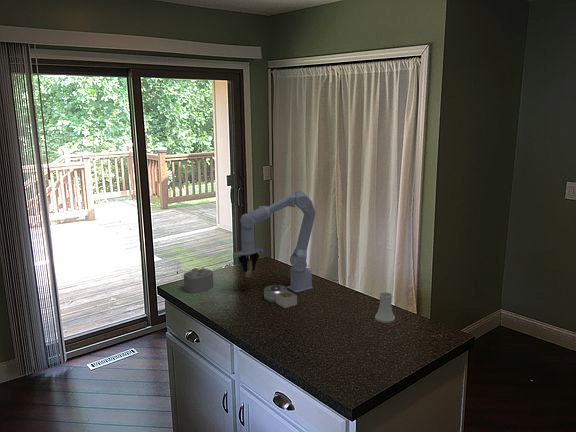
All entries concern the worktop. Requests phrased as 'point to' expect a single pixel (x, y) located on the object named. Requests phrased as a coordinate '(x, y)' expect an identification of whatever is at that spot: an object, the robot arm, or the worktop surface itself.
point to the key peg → (249, 269)
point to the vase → (385, 309)
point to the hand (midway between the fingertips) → (248, 270)
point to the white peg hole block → (280, 296)
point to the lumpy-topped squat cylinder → (198, 280)
